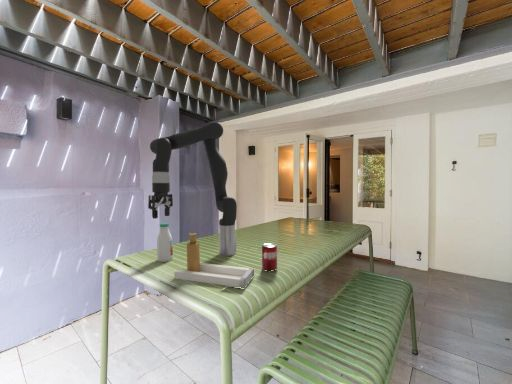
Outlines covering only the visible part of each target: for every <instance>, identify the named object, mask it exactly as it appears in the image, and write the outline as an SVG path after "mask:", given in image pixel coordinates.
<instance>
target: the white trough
mask: <svg viewBox="0 0 512 384" xmlns="http://www.w3.org/2000/svg"><path fill="white" fill-rule="evenodd" d="M173 273H174V275H173V278H174V279H176V280H183V281H190V282H191V281H192V282H197V283H205V284H211V285H220V286H227V287H226V288H228V287H241V288H245V286H246V285H247V284H248V282H249V281H250V280H251V278H252V277H253V276H254V277H255V269H254V268H251V267H242V266H235V265H234V266H231V265H224V264H215V263H205V262H200V272H193V271H187V270H185V269H183V270H182V269H176V270H175V271H173ZM251 281H252V280H251ZM248 285H249V284H248ZM248 285H247V286H248ZM245 289H246V288H245Z"/></svg>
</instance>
